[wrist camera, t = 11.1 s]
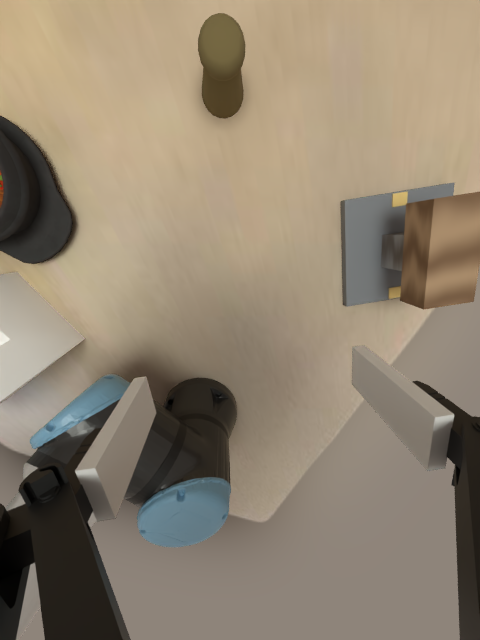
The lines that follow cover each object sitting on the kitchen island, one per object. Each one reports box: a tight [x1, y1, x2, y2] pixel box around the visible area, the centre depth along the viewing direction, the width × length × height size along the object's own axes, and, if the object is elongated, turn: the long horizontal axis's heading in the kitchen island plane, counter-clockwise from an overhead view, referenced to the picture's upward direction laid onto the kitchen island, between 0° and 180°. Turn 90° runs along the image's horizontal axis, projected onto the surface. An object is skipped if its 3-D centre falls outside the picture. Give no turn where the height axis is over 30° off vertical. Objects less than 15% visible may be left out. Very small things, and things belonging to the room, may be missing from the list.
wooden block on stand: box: [381, 192, 480, 309], centre depth 38 cm, size 14×7×12 cm, turn 8°
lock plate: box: [341, 183, 454, 306], centre depth 41 cm, size 18×18×8 cm
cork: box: [198, 13, 245, 118], centre depth 32 cm, size 6×6×11 cm
